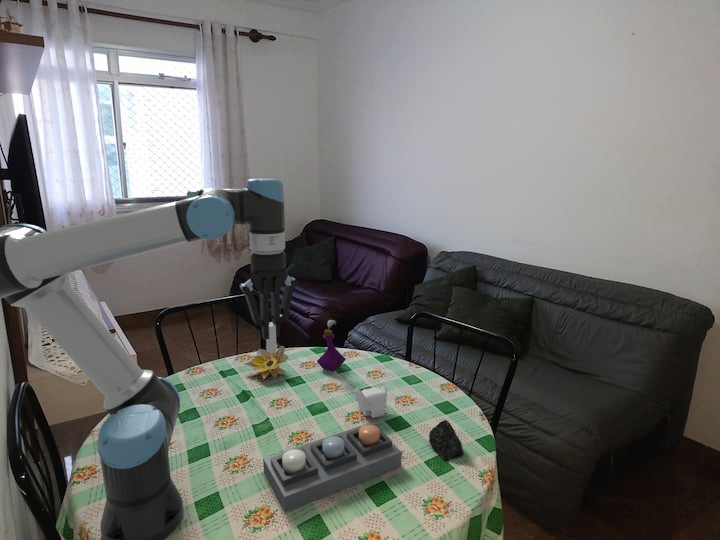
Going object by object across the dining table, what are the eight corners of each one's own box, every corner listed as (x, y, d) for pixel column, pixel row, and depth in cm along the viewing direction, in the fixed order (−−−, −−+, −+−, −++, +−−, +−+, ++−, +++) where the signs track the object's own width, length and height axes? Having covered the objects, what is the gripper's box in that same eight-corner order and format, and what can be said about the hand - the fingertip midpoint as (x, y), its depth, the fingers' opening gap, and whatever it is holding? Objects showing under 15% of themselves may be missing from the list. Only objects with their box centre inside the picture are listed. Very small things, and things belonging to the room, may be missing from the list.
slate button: (328, 462, 102) (328, 452, 102) (318, 449, 107) (318, 440, 106) (348, 455, 105) (348, 446, 104) (338, 443, 109) (338, 434, 108)
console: (285, 512, 94) (284, 490, 92) (263, 472, 105) (262, 452, 104) (401, 466, 108) (401, 446, 107) (371, 435, 120) (371, 417, 119)
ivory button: (287, 477, 97) (287, 467, 97) (279, 463, 102) (278, 453, 101) (309, 469, 100) (309, 459, 99) (300, 456, 104) (300, 446, 104)
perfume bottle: (333, 375, 152) (333, 326, 148) (316, 369, 156) (316, 321, 152) (346, 367, 158) (346, 320, 154) (329, 361, 162) (329, 315, 158)
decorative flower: (237, 365, 155) (243, 338, 154) (265, 362, 163) (271, 337, 161) (258, 384, 144) (265, 355, 143) (287, 380, 152) (293, 353, 151)
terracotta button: (365, 448, 107) (365, 439, 106) (354, 437, 111) (355, 428, 111) (383, 442, 110) (383, 433, 109) (372, 431, 114) (372, 422, 113)
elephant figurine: (366, 428, 123) (367, 399, 121) (349, 406, 134) (350, 379, 132) (396, 420, 127) (397, 392, 125) (378, 399, 138) (378, 373, 135)
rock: (444, 464, 110) (445, 443, 108) (422, 440, 119) (423, 421, 117) (467, 457, 112) (469, 437, 111) (444, 434, 121) (445, 415, 120)
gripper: (243, 257, 90) (248, 363, 96) (302, 251, 97) (304, 351, 102) (233, 250, 96) (239, 350, 102) (289, 245, 103) (291, 339, 109)
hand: (271, 350), depth 102 cm, fingers closed
